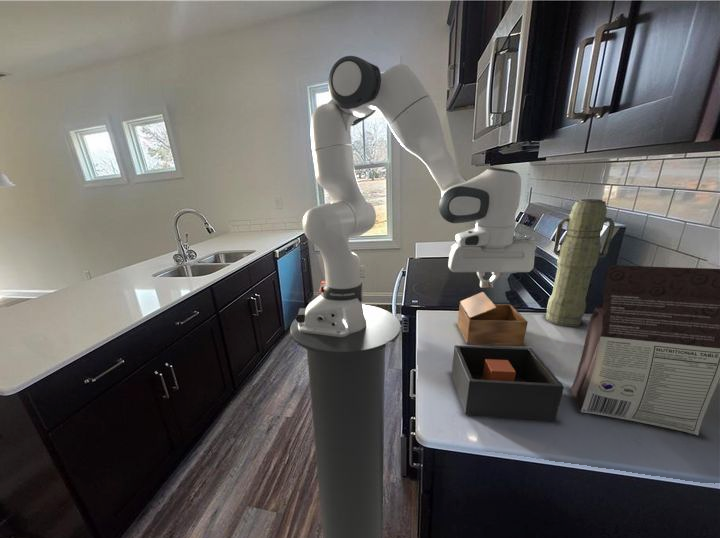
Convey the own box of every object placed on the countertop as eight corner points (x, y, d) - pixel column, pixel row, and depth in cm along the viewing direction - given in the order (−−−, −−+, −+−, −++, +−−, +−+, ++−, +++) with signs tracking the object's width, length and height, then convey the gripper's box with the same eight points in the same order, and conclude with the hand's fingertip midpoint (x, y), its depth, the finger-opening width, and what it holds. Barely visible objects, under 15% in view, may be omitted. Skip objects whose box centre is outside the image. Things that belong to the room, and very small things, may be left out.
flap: (470, 319, 84) (469, 317, 84) (460, 302, 95) (459, 301, 95) (496, 308, 82) (496, 307, 81) (483, 292, 92) (483, 291, 92)
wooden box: (466, 343, 86) (469, 320, 84) (457, 324, 97) (459, 303, 95) (523, 345, 84) (527, 321, 81) (507, 325, 95) (510, 304, 92)
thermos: (537, 312, 102) (560, 199, 90) (583, 317, 97) (614, 197, 84) (540, 323, 95) (565, 202, 83) (590, 329, 90) (625, 200, 77)
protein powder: (672, 405, 61) (731, 262, 51) (701, 438, 53) (777, 279, 43) (567, 387, 67) (601, 258, 57) (579, 414, 60) (620, 272, 50)
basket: (465, 414, 61) (469, 381, 59) (451, 374, 74) (454, 345, 71) (555, 421, 58) (564, 386, 56) (525, 378, 71) (531, 347, 68)
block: (487, 398, 64) (491, 370, 62) (481, 384, 68) (484, 359, 66) (510, 399, 64) (516, 372, 61) (503, 386, 68) (508, 359, 65)
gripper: (533, 233, 82) (523, 283, 87) (449, 234, 86) (445, 283, 91) (544, 237, 76) (533, 291, 81) (454, 239, 80) (449, 290, 85)
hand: (486, 287), depth 86 cm, fingers closed
